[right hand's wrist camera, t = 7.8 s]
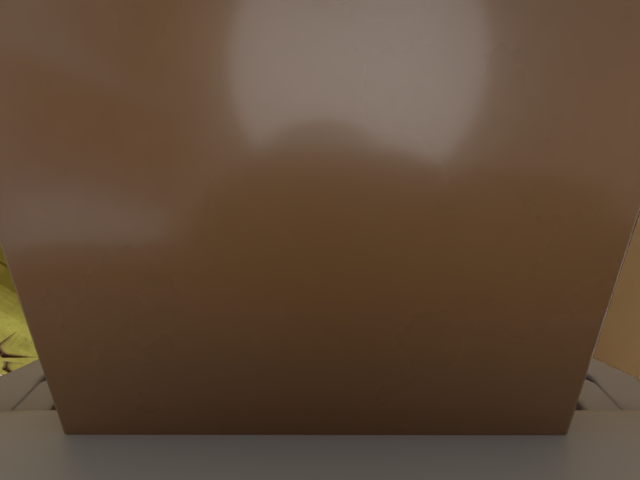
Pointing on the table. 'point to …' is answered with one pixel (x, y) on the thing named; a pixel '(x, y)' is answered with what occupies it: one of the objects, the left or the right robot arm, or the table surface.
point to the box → (317, 209)
